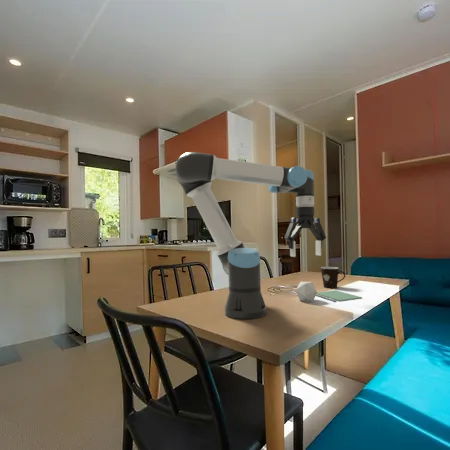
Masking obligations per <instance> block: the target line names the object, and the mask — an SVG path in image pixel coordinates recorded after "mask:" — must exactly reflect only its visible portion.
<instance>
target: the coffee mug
mask: <svg viewBox="0 0 450 450" xmlns="http://www.w3.org/2000/svg"><path fill="white" fill-rule="evenodd" d="M320 271H321V277H322V284H323V288H324V289H329V288H330V289H332V290H333V289H337V288H338V283H339V282H341V281H343V280H344V279H345V278H346V272H344V271H341V270H340V271H339V267H338V266H337V267H336V266H321V267H320ZM339 273H342V274H343V277H342V278H341V279H340V280H338V278H339Z"/></svg>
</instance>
